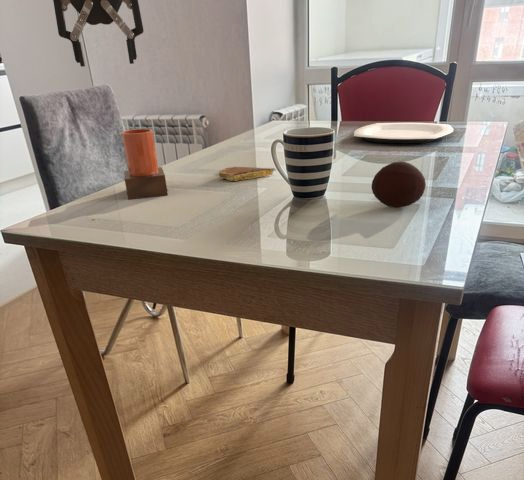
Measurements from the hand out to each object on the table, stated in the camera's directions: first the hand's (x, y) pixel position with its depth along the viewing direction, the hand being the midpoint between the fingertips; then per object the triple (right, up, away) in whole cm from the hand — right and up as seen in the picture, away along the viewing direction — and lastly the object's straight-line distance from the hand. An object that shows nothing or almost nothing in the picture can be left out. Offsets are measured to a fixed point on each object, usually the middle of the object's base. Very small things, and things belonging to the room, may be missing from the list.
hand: (107, 65), depth 91 cm
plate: (+68, +10, +54) cm, 87 cm away
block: (+4, -18, +16) cm, 24 cm away
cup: (+3, -14, +14) cm, 20 cm away
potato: (+51, -26, -1) cm, 58 cm away
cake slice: (+24, -12, +24) cm, 36 cm away
